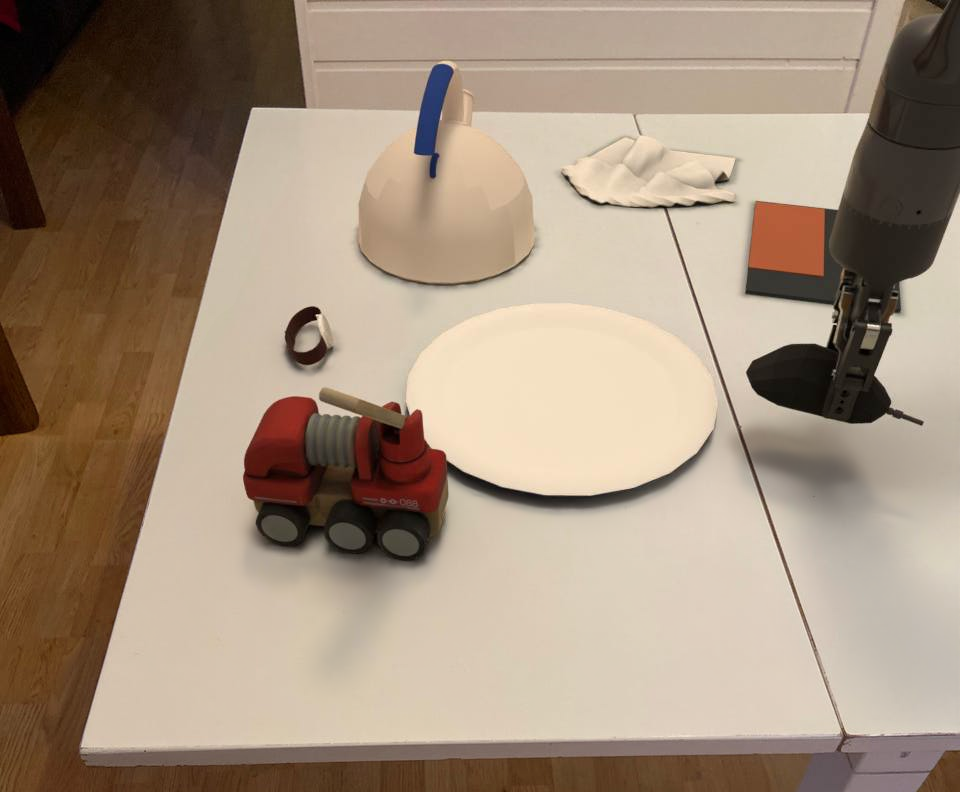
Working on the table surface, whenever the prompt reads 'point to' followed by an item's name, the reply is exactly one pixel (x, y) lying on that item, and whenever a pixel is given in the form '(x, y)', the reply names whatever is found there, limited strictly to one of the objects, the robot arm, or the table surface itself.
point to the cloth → (650, 175)
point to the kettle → (445, 196)
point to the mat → (794, 254)
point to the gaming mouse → (813, 383)
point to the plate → (562, 399)
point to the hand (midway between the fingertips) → (834, 390)
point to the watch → (324, 328)
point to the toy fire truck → (346, 475)
